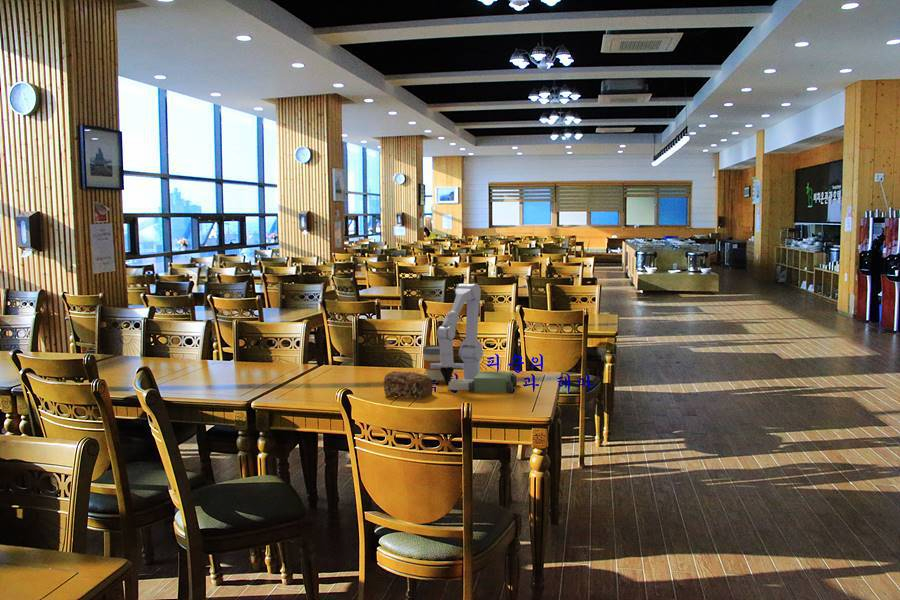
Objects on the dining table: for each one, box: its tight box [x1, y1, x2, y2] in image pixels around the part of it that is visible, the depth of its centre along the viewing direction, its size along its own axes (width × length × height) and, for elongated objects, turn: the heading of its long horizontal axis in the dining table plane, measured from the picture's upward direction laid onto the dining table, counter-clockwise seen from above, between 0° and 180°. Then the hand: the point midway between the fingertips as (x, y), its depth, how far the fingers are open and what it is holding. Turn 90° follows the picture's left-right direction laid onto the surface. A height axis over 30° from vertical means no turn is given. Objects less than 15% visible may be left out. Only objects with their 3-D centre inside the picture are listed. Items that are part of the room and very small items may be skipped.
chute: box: [448, 378, 474, 391], centre depth 331 cm, size 7×10×3 cm
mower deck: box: [468, 371, 518, 393], centre depth 328 cm, size 18×18×6 cm
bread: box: [382, 371, 434, 400], centre depth 321 cm, size 19×11×10 cm, turn 59°
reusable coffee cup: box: [422, 344, 444, 381], centre depth 354 cm, size 13×13×15 cm
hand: (447, 384), depth 332 cm, fingers closed
